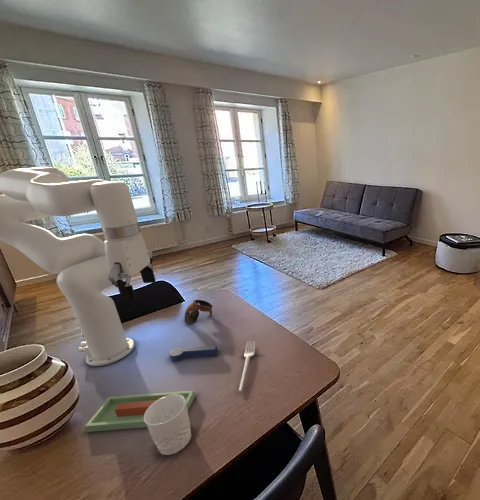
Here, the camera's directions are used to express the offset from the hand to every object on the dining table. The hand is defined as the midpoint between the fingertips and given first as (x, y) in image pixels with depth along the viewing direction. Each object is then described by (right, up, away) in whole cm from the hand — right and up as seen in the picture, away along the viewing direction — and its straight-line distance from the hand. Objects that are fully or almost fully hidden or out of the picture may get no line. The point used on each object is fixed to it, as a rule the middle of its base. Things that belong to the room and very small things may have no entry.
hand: (140, 290), depth 81 cm
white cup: (+18, -33, -13) cm, 40 cm away
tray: (+6, -30, -6) cm, 32 cm away
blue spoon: (+7, -23, +14) cm, 28 cm away
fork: (+27, -25, +8) cm, 37 cm away
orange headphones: (-1, -16, +33) cm, 36 cm away
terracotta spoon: (+8, -30, -6) cm, 32 cm away
